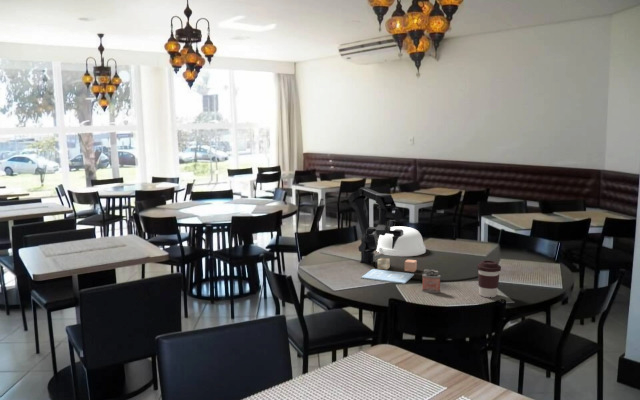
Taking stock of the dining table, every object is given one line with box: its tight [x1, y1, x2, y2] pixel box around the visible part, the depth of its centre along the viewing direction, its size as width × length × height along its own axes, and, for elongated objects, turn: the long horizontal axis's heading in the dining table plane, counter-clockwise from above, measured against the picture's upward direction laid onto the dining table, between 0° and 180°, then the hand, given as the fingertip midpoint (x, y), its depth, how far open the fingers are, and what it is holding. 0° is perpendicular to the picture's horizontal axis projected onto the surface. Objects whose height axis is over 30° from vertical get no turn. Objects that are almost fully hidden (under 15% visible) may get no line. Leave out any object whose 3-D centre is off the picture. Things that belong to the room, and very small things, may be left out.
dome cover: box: [375, 225, 427, 257], centre depth 313 cm, size 32×30×14 cm
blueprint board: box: [360, 268, 415, 285], centre depth 259 cm, size 22×16×1 cm
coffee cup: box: [476, 259, 502, 298], centre depth 229 cm, size 10×10×15 cm
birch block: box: [376, 257, 391, 271], centre depth 274 cm, size 5×5×5 cm
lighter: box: [421, 269, 442, 294], centre depth 235 cm, size 8×3×10 cm, turn 71°
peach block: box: [404, 259, 418, 273], centre depth 270 cm, size 5×5×5 cm
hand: (384, 247), depth 273 cm, fingers open, 9 cm apart
